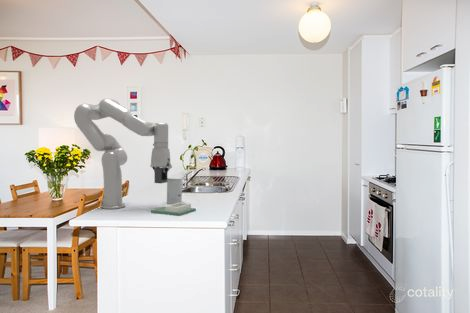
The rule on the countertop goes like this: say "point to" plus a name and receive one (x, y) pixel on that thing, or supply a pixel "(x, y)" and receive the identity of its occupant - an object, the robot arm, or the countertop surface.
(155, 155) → the robot arm
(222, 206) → the countertop surface
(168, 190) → the skincare box
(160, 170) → the dark gray block
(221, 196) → the countertop surface
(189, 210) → the header board
